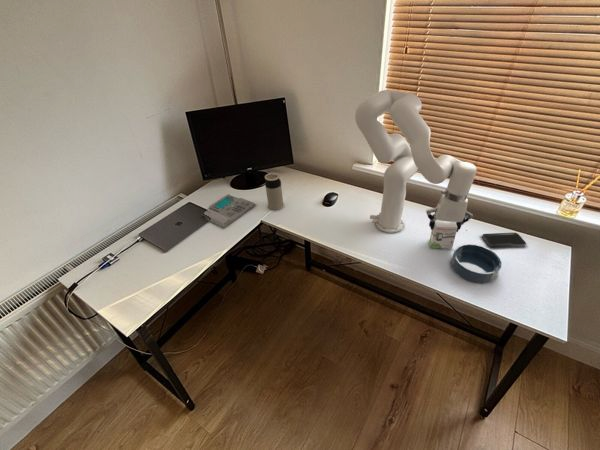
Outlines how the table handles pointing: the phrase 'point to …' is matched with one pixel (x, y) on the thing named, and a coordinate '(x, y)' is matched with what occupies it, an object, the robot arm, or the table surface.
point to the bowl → (475, 263)
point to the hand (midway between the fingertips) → (443, 228)
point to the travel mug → (274, 191)
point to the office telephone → (228, 210)
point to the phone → (503, 240)
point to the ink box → (443, 234)
